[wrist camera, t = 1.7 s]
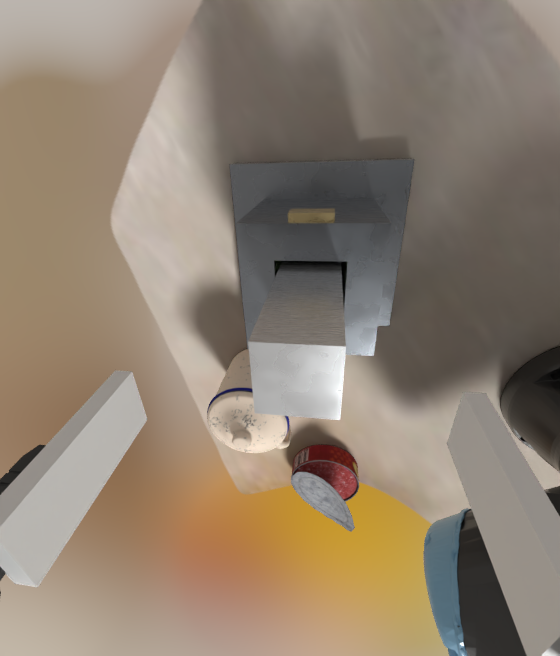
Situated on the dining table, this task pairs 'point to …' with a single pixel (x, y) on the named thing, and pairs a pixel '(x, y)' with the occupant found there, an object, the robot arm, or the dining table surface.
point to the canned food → (326, 481)
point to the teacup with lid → (244, 413)
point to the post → (300, 343)
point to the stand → (324, 232)
